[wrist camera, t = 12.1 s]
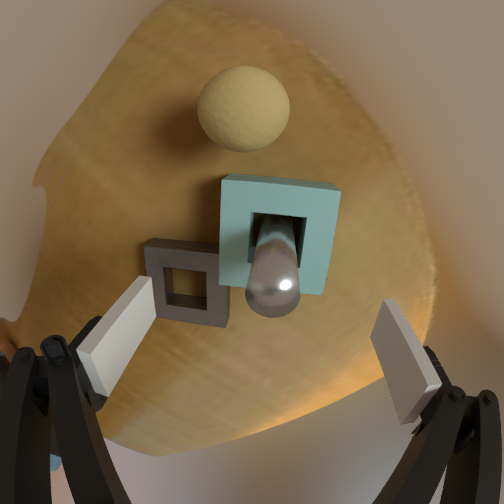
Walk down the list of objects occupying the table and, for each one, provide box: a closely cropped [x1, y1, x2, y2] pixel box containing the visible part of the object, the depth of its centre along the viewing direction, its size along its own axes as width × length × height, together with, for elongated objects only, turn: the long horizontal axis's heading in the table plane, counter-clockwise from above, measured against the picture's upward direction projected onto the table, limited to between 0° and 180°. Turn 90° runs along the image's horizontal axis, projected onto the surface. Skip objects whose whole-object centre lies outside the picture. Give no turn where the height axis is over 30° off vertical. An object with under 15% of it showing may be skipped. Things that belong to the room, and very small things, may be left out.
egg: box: [0, 342, 17, 363], centre depth 42 cm, size 6×6×8 cm
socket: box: [219, 174, 341, 295], centre depth 26 cm, size 10×10×4 cm
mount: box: [144, 238, 230, 328], centre depth 30 cm, size 9×9×2 cm
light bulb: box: [197, 66, 290, 152], centre depth 19 cm, size 6×6×10 cm
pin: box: [245, 214, 300, 318], centre depth 22 cm, size 3×3×13 cm
